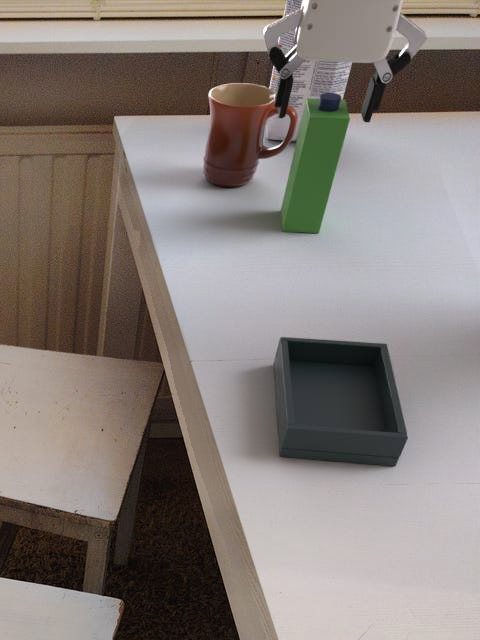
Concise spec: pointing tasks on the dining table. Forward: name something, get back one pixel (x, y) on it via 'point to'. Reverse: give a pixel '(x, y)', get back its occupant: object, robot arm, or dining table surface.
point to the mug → (240, 132)
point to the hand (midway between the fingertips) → (322, 116)
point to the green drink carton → (314, 163)
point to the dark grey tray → (337, 402)
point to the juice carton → (304, 81)
